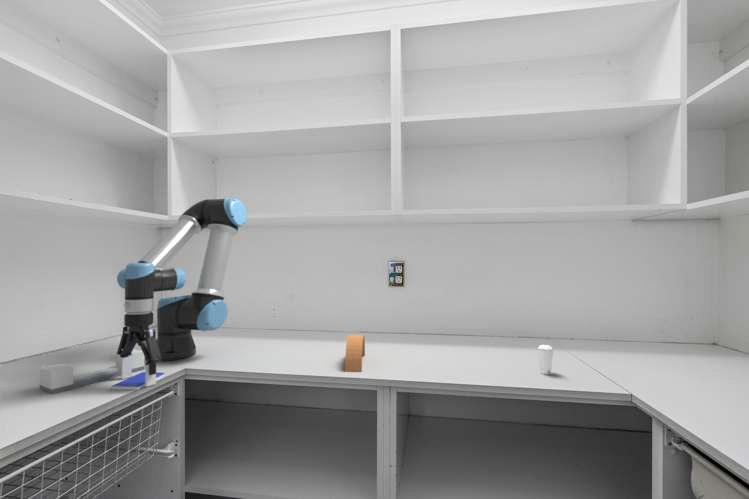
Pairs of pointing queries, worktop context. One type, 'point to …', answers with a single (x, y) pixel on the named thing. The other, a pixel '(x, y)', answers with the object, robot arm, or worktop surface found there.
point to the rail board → (63, 379)
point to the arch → (354, 353)
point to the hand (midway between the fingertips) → (138, 381)
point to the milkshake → (545, 358)
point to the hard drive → (134, 381)
